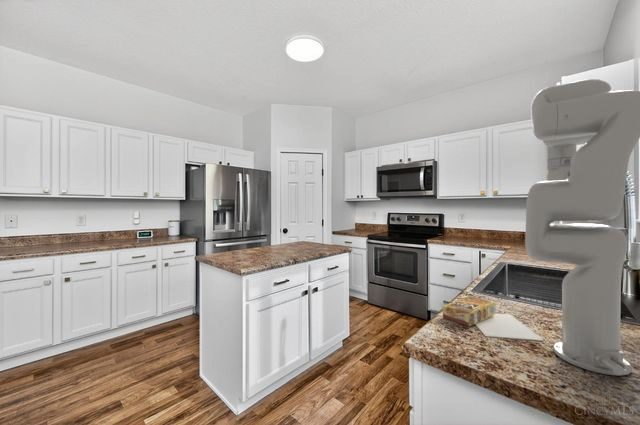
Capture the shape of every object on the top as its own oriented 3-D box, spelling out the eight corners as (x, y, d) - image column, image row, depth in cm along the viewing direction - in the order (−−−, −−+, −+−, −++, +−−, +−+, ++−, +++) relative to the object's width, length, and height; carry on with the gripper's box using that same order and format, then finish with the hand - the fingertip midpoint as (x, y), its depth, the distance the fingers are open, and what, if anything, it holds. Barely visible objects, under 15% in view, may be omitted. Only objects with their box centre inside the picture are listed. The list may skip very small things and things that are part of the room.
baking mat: (543, 341, 71) (543, 340, 71) (485, 336, 74) (485, 335, 74) (510, 315, 88) (510, 314, 88) (464, 312, 91) (464, 311, 91)
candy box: (495, 301, 87) (468, 313, 79) (496, 314, 87) (469, 327, 79) (468, 295, 95) (441, 305, 87) (469, 307, 95) (442, 318, 87)
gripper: (591, 160, 85) (591, 218, 85) (559, 167, 99) (559, 216, 100) (563, 161, 86) (563, 218, 87) (536, 168, 101) (536, 216, 101)
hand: (561, 217), depth 93 cm, fingers closed
